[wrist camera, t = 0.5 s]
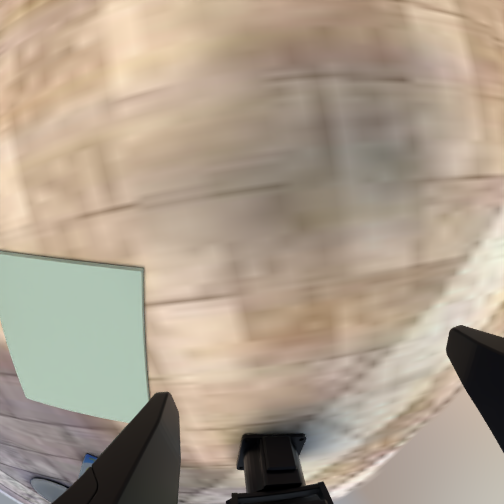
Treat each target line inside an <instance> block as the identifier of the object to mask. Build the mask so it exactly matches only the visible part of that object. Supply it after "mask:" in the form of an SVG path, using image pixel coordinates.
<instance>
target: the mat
mask: <svg viewBox="0 0 504 504" xmlns="http://www.w3.org/2000/svg"><path fill="white" fill-rule="evenodd" d="M0 320H1V324H2V327H3V331H4V335H5V338H6V342H7V345H8V348H9V351H10V355H11V358H12V361H13V364H14V367H15V369H16V372H17V375H18V378H19V381H20V383H21V386H22V388H23V391H24V393H25V396H26V398H28V399H31V400H34V401H37V402H41V403H44V404H48V405H51V406H55V407H58V408H62V409H66V410H70V411H74V412H78V413H82V414H86V415H91V416H95V417H100V418H105V419H110V420H115V421H121V422H127V423H130V421H131V420H132V419H133V418H134V417H135V416H136V415H137V414H138V412H139V411H140V410H141V409H142V408H143V407H144V406H145V405H146V403H147V402H148V401H149V400H150V398H149V387H148V376H147V362H146V347H145V326H144V288H143V268H137V267H128V266H118V265H109V264H100V263H91V262H83V261H74V260H66V259H58V258H50V257H42V256H34V255H26V254H19V253H11V252H4V251H0Z"/></svg>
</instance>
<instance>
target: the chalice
mask: <svg viewBox="0 0 504 504" xmlns="http://www.w3.org/2000/svg"><path fill="white" fill-rule="evenodd" d="M31 485H32V487H33V488H34V489H35V491H36V492H37V493H38V494H40V495H41V496H42V497H44V498H45V499H47V500H48V501H50V502H51V503H52V502H54V501H55V500H56V499H57V498H58V497H59V496H61V495H62V494H63V493H64V492H65V491H66V490H67V489H68V488H66V487H64V486H61V485H59V484H57V483H54V482H51V481H48V480H44V479H38V478H34V479H32V480H31Z"/></svg>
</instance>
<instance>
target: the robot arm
mask: <svg viewBox="0 0 504 504" xmlns="http://www.w3.org/2000/svg"><path fill="white" fill-rule="evenodd" d="M446 353H447V356H448V357H449V359H450V361H451V363H452V365H453V367H454V369H455V371H456V373H457V374H458V376H459V378H460V380H461V382H462V384H463V386H464V388H465V389H466V391H467V393H468V394H469V396H470V397H471V399H472V400H473V402H474V404H475V405H476V407H477V408H478V410H479V412H480V413H481V415H482V417H483V418H484V420H485V422H486V423H487V425H488V427H489V428H490V430H491V431H492V433H493V435H494V436H495V438H496V440H497V442H498V444H499V445H500V447H501V449H502V451H503V452H504V338H503V337H499V336H496V335H493V334H489V333H486V332H483V331H479V330H476V329H473V328H469V327H466V326H463V325H459V326H456V327H454V328H452V329H451V330H450V332H449V337H448V342H447V346H446ZM305 441H306V436H305V434H287V435H244V436H243V437H242V440H241V445H240V450H239V455H238V460H237V469H238V470H244V473H245V483H246V492H247V493H239V494H237V493H232V498H231V499H229V500H227V501H226V504H333V501H332V499H331V497H330V495H329V493H328V490H327V488H326V486H325V484H324V482H318V483H317V484H312V485H306V484H305V480H304V476H303V472H302V468H301V464H300V460H299V455H300V452H301V450H302V448H303V445H304V443H305ZM180 463H181V452H180V425H179V412H178V409H177V407H176V405H175V402H174V400H173V398H172V395H171V394H170V393H169V392H158V393H156V394H154V395H153V397H152V398H151V399H150V400H149V401H148V402H147V403H146V405H145V406H144V407H143V408H142V409H141V410H140V411H139V412H138V414H137V415H136V416H135V417H134V418H133V419H132V420H131V421H130V423H129V424H128V425H127V426H126V427H125V428H124V429H123V430H122V432H121V433H120V434H119V435H118V436H117V437H116V438H115V439H114V440H113V442H112V443H111V444H110V445H109V446H108V447H107V448H106V449H105V450H104V452H103V453H102V454H101V455H100V456H99V457H98V458H97V459H96V460H95V462H94V463H93V464H92V465H91V466H92V467H89V468H88V469H87V470H86V471H85V472H84V473H83V475H82V476H81V477H80V478H79V479H78V480H77V481H76V482H75V483H74V484H73V485H72V486H71V487H69V488H68V489H67V490H66V491H65V492H64V493H63V494H62V495H61V496H59V497H58V498H57V499H56V500H55V501H54V502H52V503H51V504H177V503H178V489H179V476H180Z"/></svg>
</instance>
